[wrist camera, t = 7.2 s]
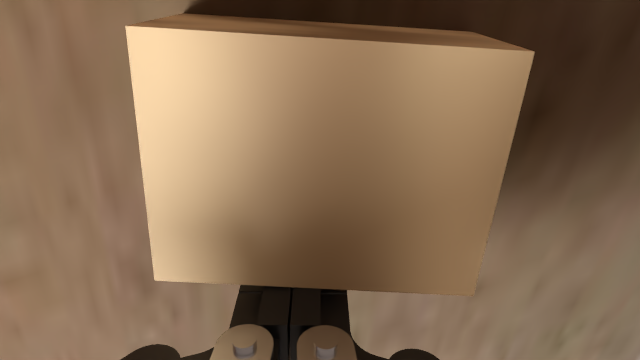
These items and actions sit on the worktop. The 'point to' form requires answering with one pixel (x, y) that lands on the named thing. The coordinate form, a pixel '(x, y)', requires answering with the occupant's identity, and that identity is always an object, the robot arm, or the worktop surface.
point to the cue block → (322, 150)
